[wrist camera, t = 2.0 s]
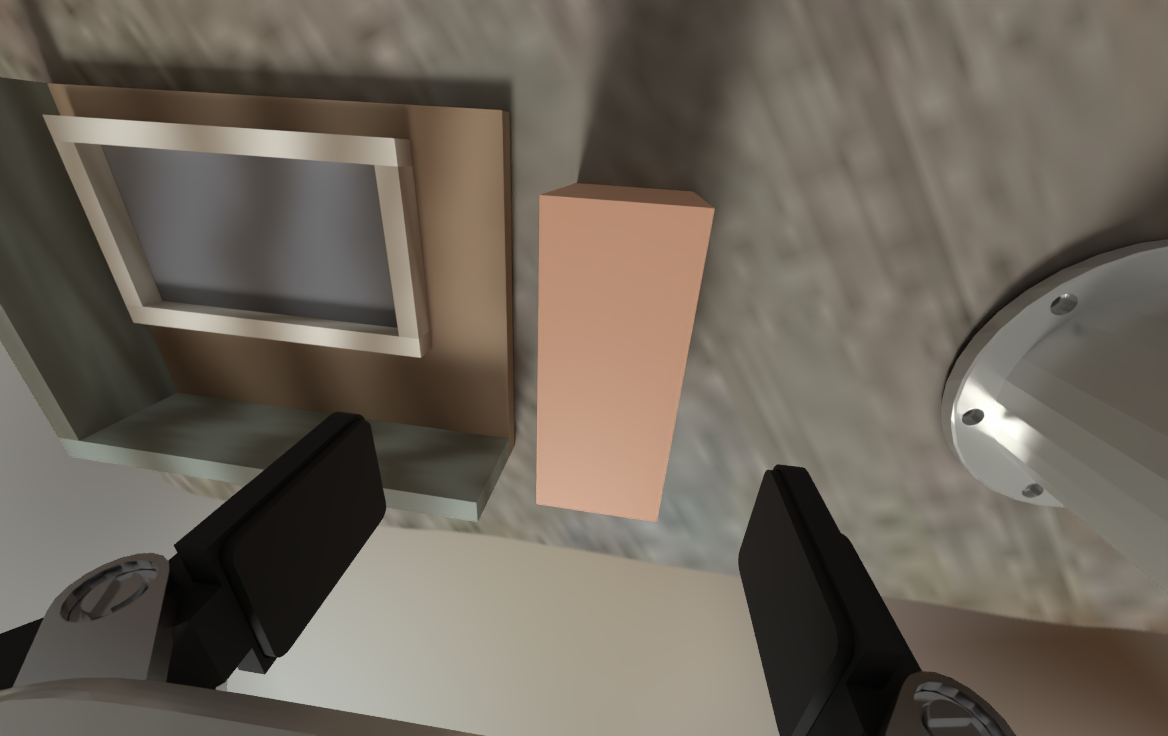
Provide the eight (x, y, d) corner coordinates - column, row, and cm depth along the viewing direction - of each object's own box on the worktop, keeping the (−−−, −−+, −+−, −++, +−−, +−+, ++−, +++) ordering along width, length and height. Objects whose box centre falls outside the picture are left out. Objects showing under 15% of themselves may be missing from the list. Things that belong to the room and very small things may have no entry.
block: (577, 182, 19) (539, 195, 12) (693, 191, 18) (715, 208, 12) (566, 414, 24) (536, 503, 18) (655, 426, 23) (656, 522, 17)
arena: (509, 112, 18) (448, 92, 12) (514, 445, 25) (477, 522, 20) (51, 85, 20) (-169, 57, 15) (182, 398, 27) (70, 456, 22)
